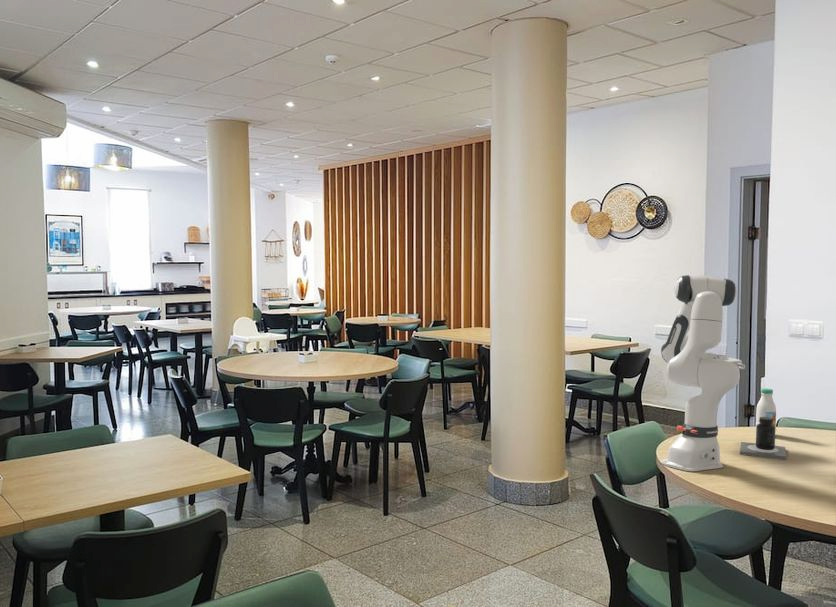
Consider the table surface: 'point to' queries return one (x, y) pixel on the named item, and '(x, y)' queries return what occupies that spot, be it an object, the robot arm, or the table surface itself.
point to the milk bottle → (766, 406)
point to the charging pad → (762, 451)
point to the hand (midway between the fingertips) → (735, 367)
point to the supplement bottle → (765, 434)
